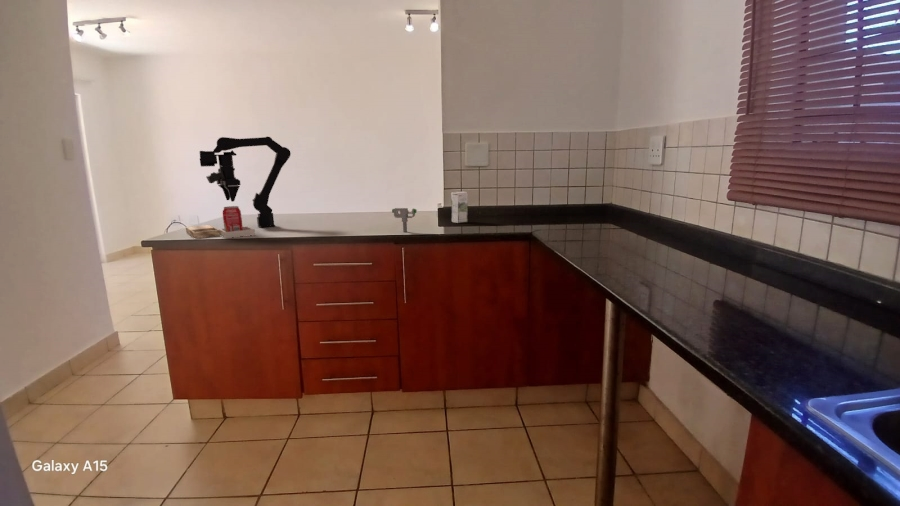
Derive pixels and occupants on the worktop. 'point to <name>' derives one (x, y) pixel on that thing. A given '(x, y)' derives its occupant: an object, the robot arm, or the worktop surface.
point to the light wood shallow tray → (202, 231)
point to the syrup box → (459, 207)
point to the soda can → (232, 219)
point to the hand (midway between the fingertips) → (230, 200)
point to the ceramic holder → (237, 232)
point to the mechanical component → (403, 215)
